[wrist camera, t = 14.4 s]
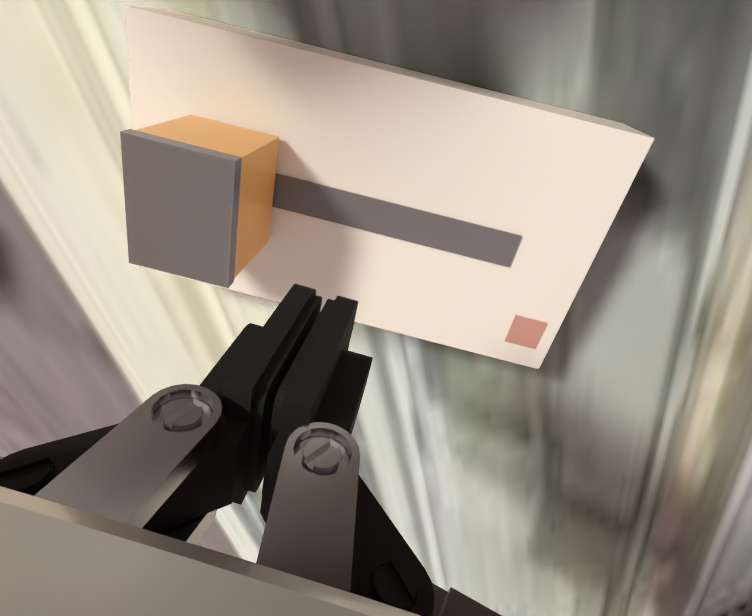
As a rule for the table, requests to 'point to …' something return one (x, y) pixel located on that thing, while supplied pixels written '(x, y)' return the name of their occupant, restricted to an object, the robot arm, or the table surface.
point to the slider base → (400, 182)
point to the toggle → (198, 196)
